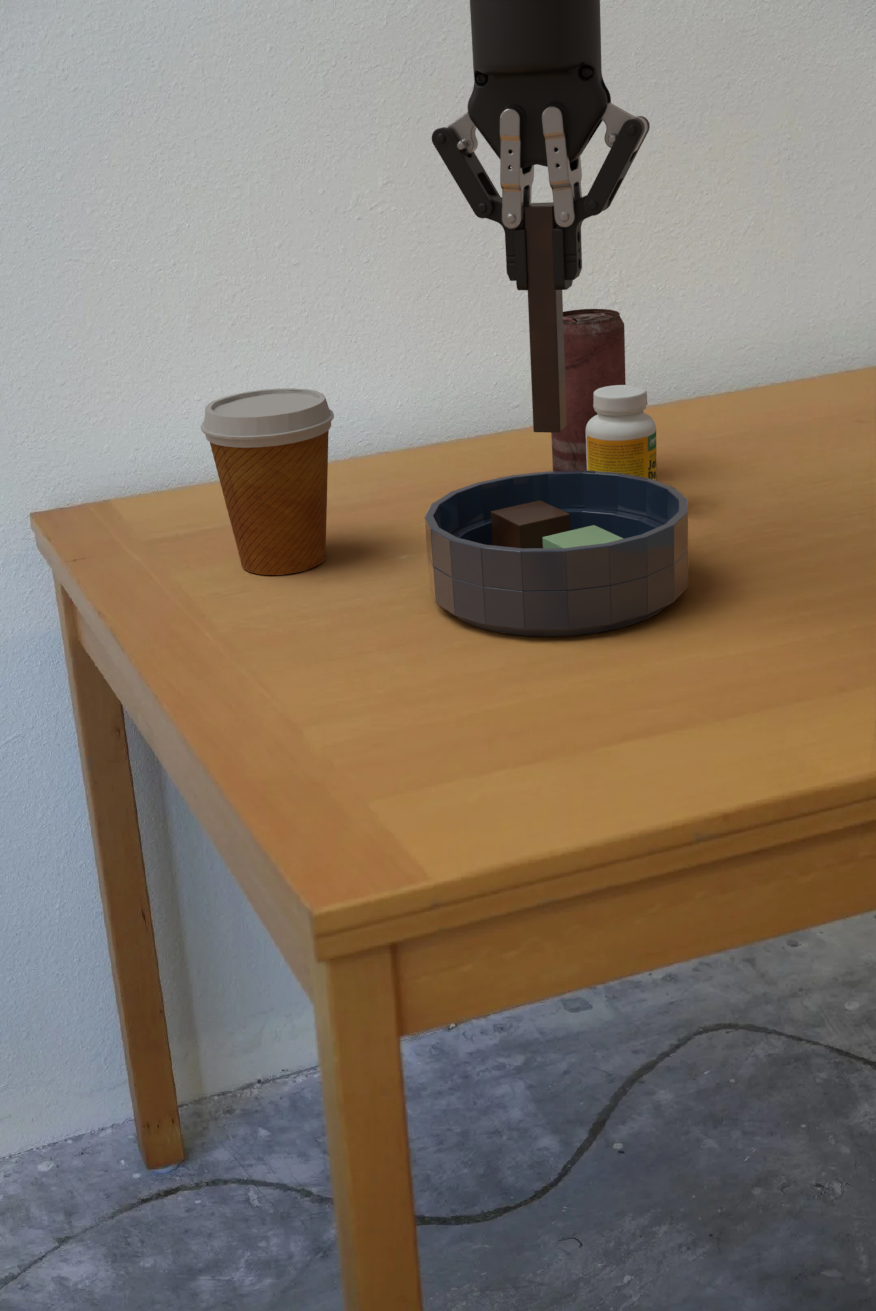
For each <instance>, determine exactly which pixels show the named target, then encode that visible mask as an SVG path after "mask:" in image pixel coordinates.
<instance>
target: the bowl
mask: <svg viewBox="0 0 876 1311" xmlns="http://www.w3.org/2000/svg"><path fill="white" fill-rule="evenodd" d="M539 500H541V501H543V502H545V503H547V504H549V505H551V506H554V507H556V508H558V509H560V510H562V511H565V512H567V513H569V514H570V531H571V530H575V529H579V528H584V527H588V526H592V525H595V526H597V527H599V528H602V529H604V530H606V531H608V532H610V533H612V534H615V535H617V536H619V537H621V538H623V539H621V540H617V541H613V542H608V543H603V544H595V545H587V546H578V547H570V548H529V549H523V548H513V547H503V546H493V540H492V522H491V511H495V510H499V509H504V508H508V507H513V506H517V505H522V504H526V503H530V502H535V501H539ZM424 526H425V528H424V529H425V541H426V554H427V566H428V580H429V590H430V592H431V594H432V597H433V598H434V599H433V600H434V602H435V603H436V605H438V606H440V607H441V608H442V609H444V610H446V611H447V612H448V613H450V614H451V615H453V616H454V617H456V618H457V619H459V621H462V622H464V623H466V624H468V625H471V626H474V627H476V628H479V629H482V630H486V631H491V632H495V633H501V634H505V635H506V634H507V635H512V636H513V635H514V636H526V637H545V638H547V637H569V636H571V637H572V636H582V635H590V634H591V635H592V634H598V633H603V632H608V631H613V630H617V629H623V628H626V627H628V626H633V625H636V624H638V623H641V622H643V621H645V620H647V619H650V618H651V617H653V616H656V615H658V614H659V613H660V612H662V611H664V610H665V609H666V608H667V607H668V606H669V605H671V604H673V603H674V602H675V601H676V600H677V599H678V598H679V597H680V596H681V595H682V594H683V593H684V592H685V591H686V590H687V588H688V587H689V499H688V498H687V497H686V496H685V495H683V493H681V492H680V491H679V490H678V489H677V488H676V487H675V486H674V487H673V486H671V485H669V484H666V483H664V482H661V481H658V480H657V481H656V480H653V479H649V478H644V477H639V476H634V475H628V474H623V473H613V472H599V471H553V470H551V471H550V470H547V471H537V472H529V473H519V474H511V475H507V476H501V477H497V478H496V477H495V478H492V479H488V480H483V481H478V482H475V483H472V484H469V485H466V486H464V487H460V488H458V489H455V490H453V491H450V492H448V493H446V494H445V495H443V496H441V497H440V498H438V499H437V500H435V501H434V502H432V503H431V504H430V506H429V508H428V510H427V511H426V513H425V515H424Z"/></svg>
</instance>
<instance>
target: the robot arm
mask: <svg viewBox="0 0 876 1311" xmlns="http://www.w3.org/2000/svg"><path fill="white" fill-rule="evenodd" d="M469 14H470V31H471V52H472V71H473V87H472V91H471V94H470V97H469V98H468V102H467V111H466V112H465V113H463V114H462V115H461V116H460V117H457V119H455V120H454V121H453V122H451V123H450V124H449V125H446V126H443V127H439V128H436V129H435V130H434V131H433V132H432V134H431V142H432V145H433V146H434V148H435V150H436V151H437V153H438V154H439V156H440V158H441V159H442V162H443V163H444V164H445V166H446V168H447V170H448V171H449V174H450V175H451V176H452V178H453V180H454V182H455V183H456V185H457V186H458V188H459V190H460V192H461V194H462V195H463V197H464V198H465V200H466V201H467V203H468V205H469V207H470V209H471V210H472V212H473V213H474V215H475V216H476V217H477V218H479V219H486V220H490V221H493V222H495V223H498V224H499V225H500V226H501V228H502V229H503V231H504V241H505V242H504V245H505V262H506V265H505V266H506V275H507V277H508V279H509V281H510V282H515V283H516V284H515V285H516V290H517V291H528V275H527V251H526V229H525V215H524V207H525V206H527V205H529V204H531V203H532V192H533V191H532V189H533V187H532V186H533V183H534V178H535V165H536V166H537V165H538V166H542V167H546V168H547V173H548V183H549V187H550V188H551V193H552V202H553V204H554V214H555V221H556V227H555V228H554V229H552V249H553V277H554V288H555V289H556V290H562V291H567V290H569V289H570V288H571V287H572V286H573V283H574V282H573V281H574V280H576V279H577V278H579V277H580V276H581V272H582V270H583V258H582V257H583V254H582V253H583V252H582V225H583V222H584V221H585V220H587V219H589V218H590V217H596V216H598V215H600V214H601V213H602V212H604V211H606V210H608V209H609V208H610V206H611V205H612V204H613V201H614V199H615V197H616V195H617V193H618V191H619V189H620V188H621V186H622V184H623V182H624V180H625V178H626V176H627V174H628V172H629V170H630V168H631V166H632V165H633V162H634V160H635V158H636V156H637V154H638V153H639V151H640V149H641V147H642V145H643V143H644V141H645V140H646V138H647V136H648V133H649V131H650V125H651V124H650V121H649V119H647V117H645V116H643V115H636V116H635V115H633V114H631V113H629V112H628V111H626V110H624V109H623V108H621V107H619V106H617V105H616V104H614V103H612V96H611V93H610V91H609V88H608V86H607V84H606V83H605V81H604V76H603V71H602V69H603V68H602V30H601V22H602V21H601V0H469ZM602 122H604V124H605V133H604V136H603V137H604V143H605V145H606V146H607V147H608V148H610V149H609V151H608V154H607V155H606V156H605V159H604V160H603V163H602V165H601V167H600V169H599V171H598V173H597V174H596V176H595V179H594V181H593V183H592V185H591V187H590V189H589V191H588V192H587V194H586V195H583V193H582V178H583V172H582V170H583V169H582V161H581V160H582V159H581V155H582V154H584V151H585V150H586V148H587V146H588V145H589V143H590V141H591V140H592V138H593V137H594V135H595V134H596V132H597V130H598V129H599V127H600V126H601V124H602ZM476 130H478V132H479V133H480V135H481V136H482V137H483V139H484V140H485V141H486V143H487V144H488V145H489V147H490V149H491V150H492V151H493V152H494V153H495V155H496V157H497V159H499V160H500V161H499V162H500V164H499V165H500V168H499V184H500V188H501V195H500V192H498V190H497V188H496V186H495V185H494V183H493V180H491V178H490V177H489V174H488V173H487V171H486V170H485V167H484V166H483V165H482V163H481V161H480V160H479V158H478V156H477V154H476V153H475V152H476V150H477V149H478V146H479V141H478V138H477V135H476Z"/></svg>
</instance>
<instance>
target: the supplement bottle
mask: <svg viewBox="0 0 876 1311" xmlns="http://www.w3.org/2000/svg"><path fill="white" fill-rule="evenodd" d="M593 395H594V404H593V407H594V410H595V411H596V412H597V415H595V416H594V417H592V418H591V419H590V420H589V421H588V423H587V425H586V460H587V471H599V472H613V473H623V474H628V475H634V476H639V477H644V478H649V479H653V480H656V481H658V479H657V478H658V476H657V463H658V462H657V425H656V422H655V420H654V418H653V417H652V416H651V415H649V414H648V413H645V412H644V411H645V410H646V409H647V406H648V390H647V389H646V387H644V386H640V385H634V384H626V385H613V386H607V387H602V388H599V389H597V390H595V391H594V394H593Z"/></svg>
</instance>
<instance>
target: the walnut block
mask: <svg viewBox="0 0 876 1311" xmlns="http://www.w3.org/2000/svg"><path fill="white" fill-rule="evenodd" d="M491 522H492V540H493V546H503V547H513V548H523V549H529V548H543V539H542V538H543V537H545V536H550V535H554V534H558V533H562V532H567V531H570V514H569V513H567V512H565V511H562V510H560V509H558V508H556V507H554V506H551V505H549V504H547V503H545V502H543V501H541V500H539V501H535V502H530V503H526V504H522V505H517V506H513V507H508V508H504V509H499V510H495V511H491Z"/></svg>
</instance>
